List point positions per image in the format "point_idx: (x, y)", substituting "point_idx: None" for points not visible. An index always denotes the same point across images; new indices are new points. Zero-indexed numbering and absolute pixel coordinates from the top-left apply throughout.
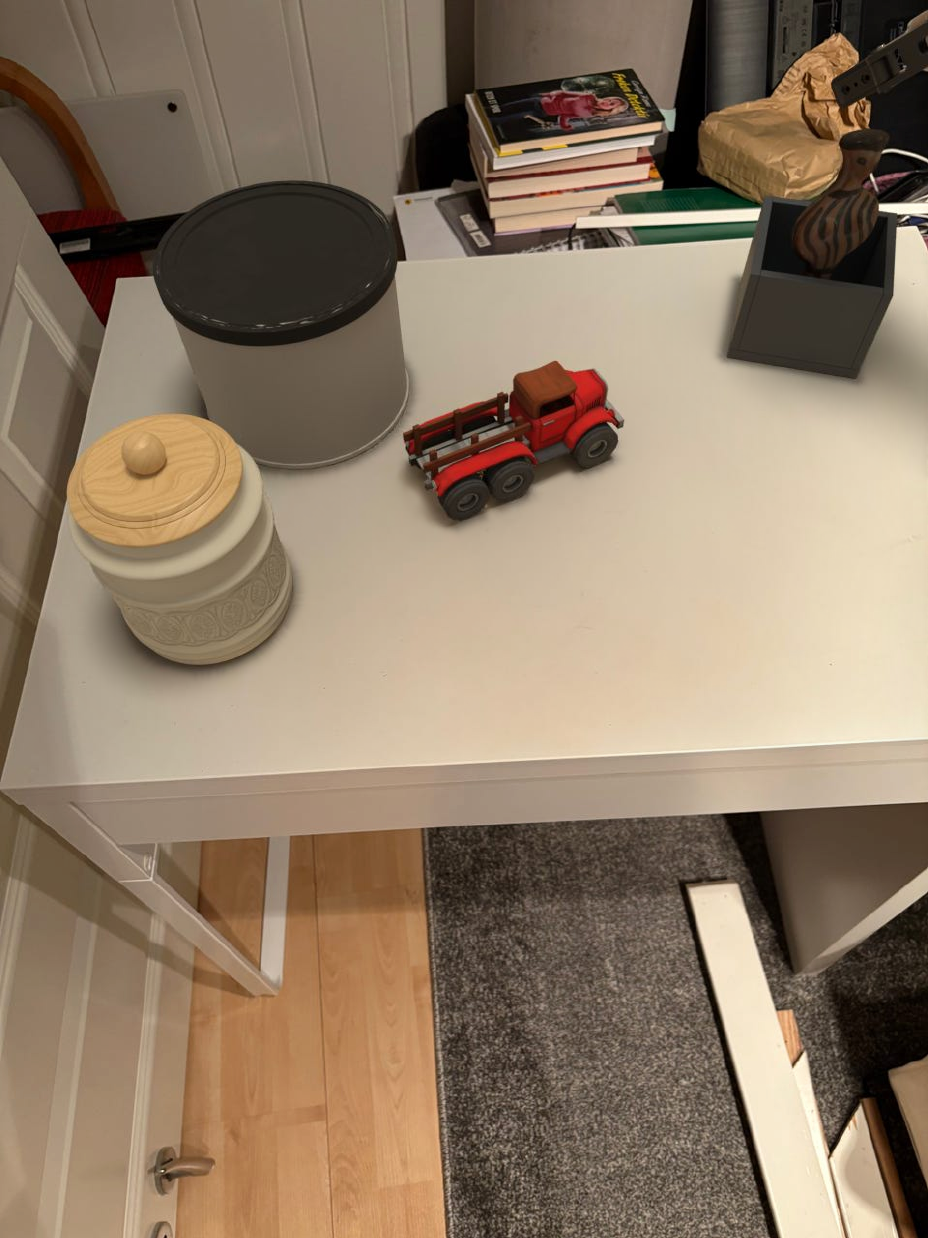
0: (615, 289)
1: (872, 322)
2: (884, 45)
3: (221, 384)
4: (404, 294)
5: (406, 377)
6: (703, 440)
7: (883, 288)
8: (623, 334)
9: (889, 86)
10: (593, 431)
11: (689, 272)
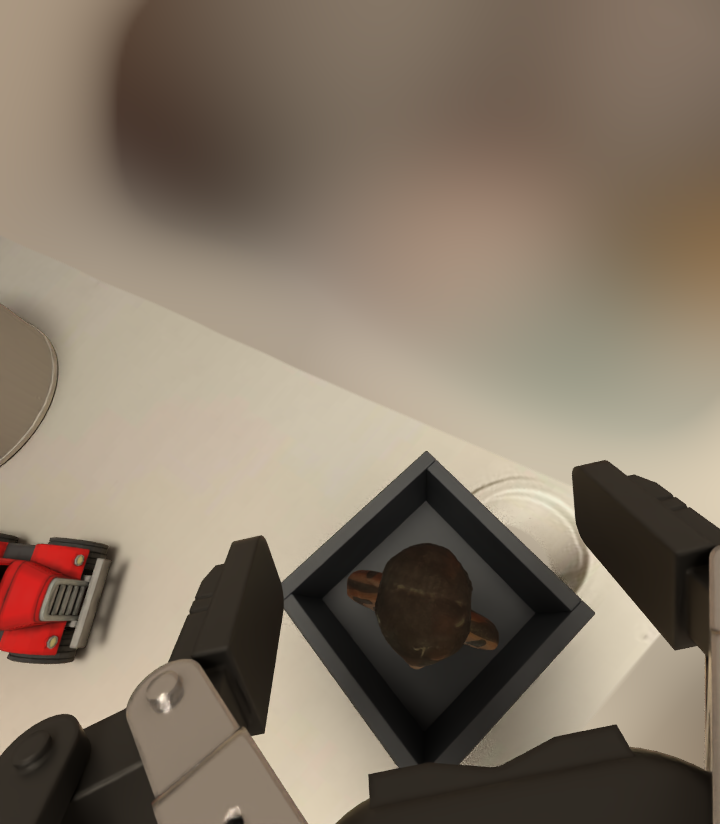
0: (288, 424)
1: None
2: (159, 704)
3: None
4: (122, 327)
5: (28, 430)
6: None
7: None
8: (242, 491)
9: None
10: (16, 653)
11: (380, 444)
